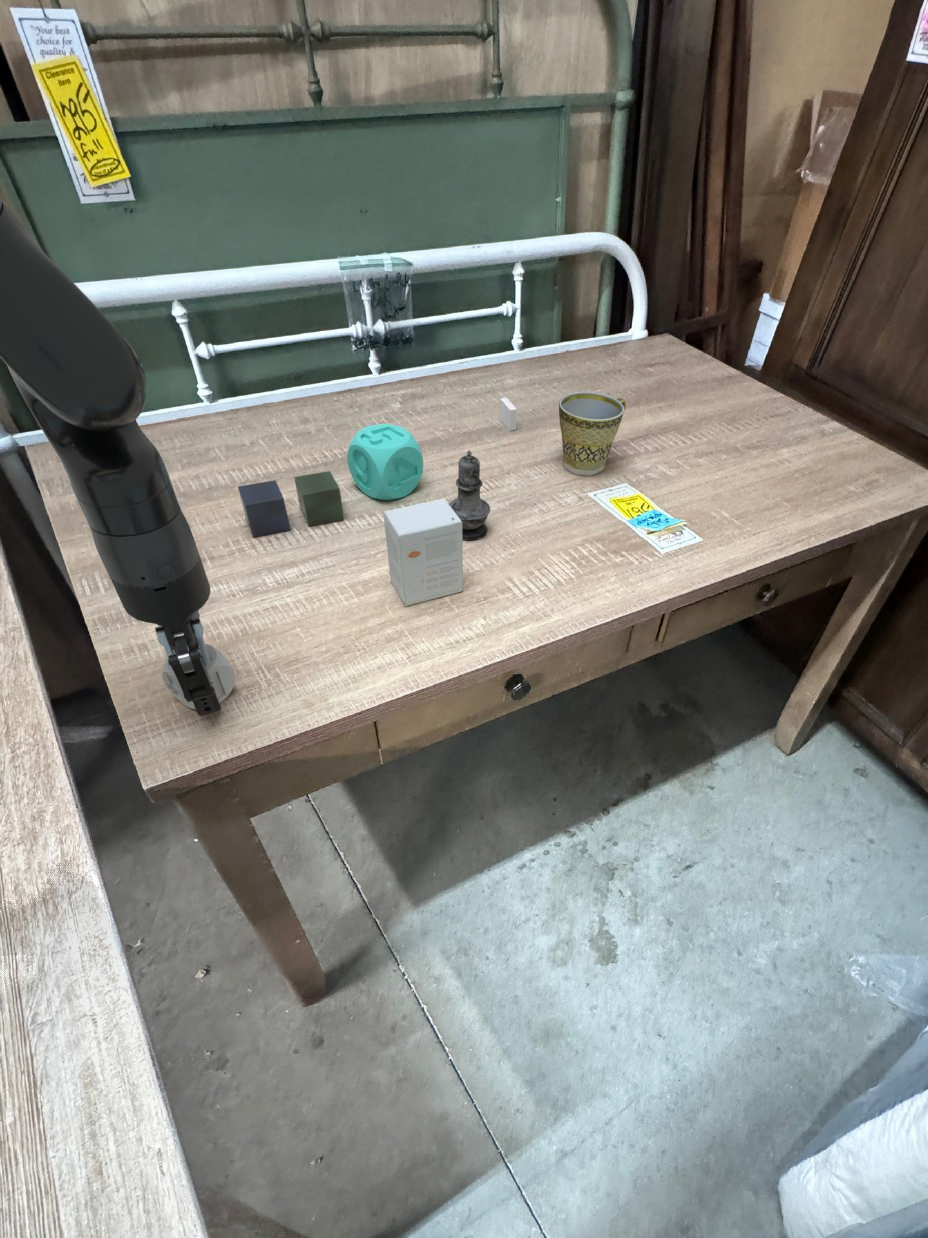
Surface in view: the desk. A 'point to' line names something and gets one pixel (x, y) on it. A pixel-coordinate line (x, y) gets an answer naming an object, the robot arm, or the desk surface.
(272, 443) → the desk surface
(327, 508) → the row of mixed cubes
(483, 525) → the black chess piece
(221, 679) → the die
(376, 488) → the decorative dice
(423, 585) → the small box
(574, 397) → the ceramic cup
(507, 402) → the eraser
